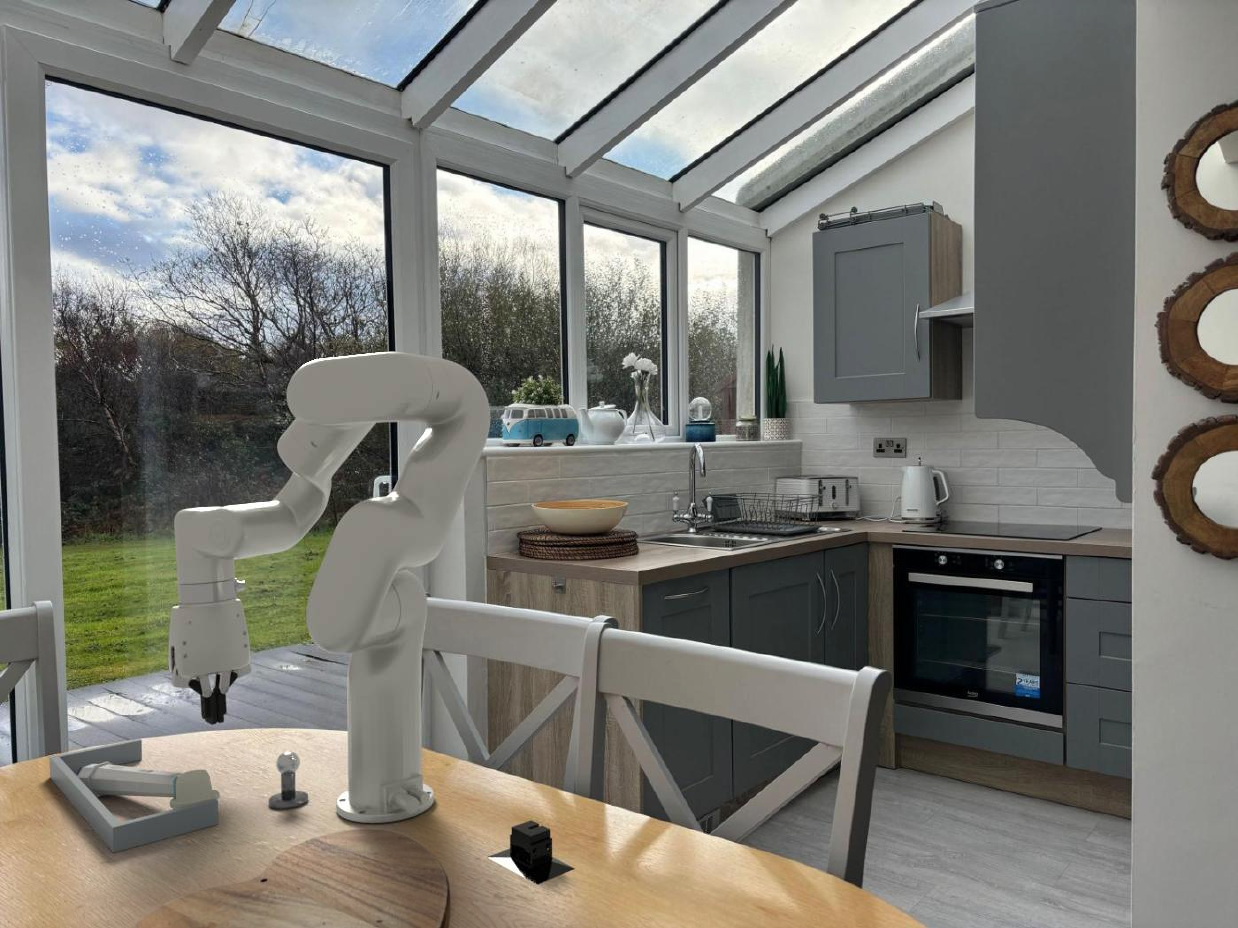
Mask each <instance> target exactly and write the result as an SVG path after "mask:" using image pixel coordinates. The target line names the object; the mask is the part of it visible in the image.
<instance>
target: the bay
mask: <svg viewBox="0 0 1238 928" xmlns="http://www.w3.org/2000/svg"><path fill="white" fill-rule="evenodd" d="M142 743H143V740H142V739H141V738H136V739H131V740H125V741H121V742H117V743H112V744H107V745H106V744H105V745H101V746H96V747H91V748H86V749H81V750H76V751H72V752H71V751H70V752H67V753H66V752H65V753H62V754H61V753H60V754H56V755H52V756H49V778H50V779H51V780H52V782H53V783H54V784H55V785H56V786H57V787H58V788H59V790H60V791H61V792H62V794H63V795H64V796H65V797H66V798H67V799H68V801H69V802H70V803H71V804H72V806H74V808H75V809H76V810H77V812H78V813H79V815H81V817H83V818H84V819H85V821H86V822H87V824H89V825H90V827H91V828H92V830H94V832H95V833H96V834H97V836H98V837H100V839H101V840H102V842H103V843H104V844H105V845H106V846H107V847H108V849H109V850H110V851H111V852H112V853H113V854H114V853H118V852H122V851H125V850H128V849H133V848H135V847H136V848H137V847H140V846H143V845H147V844H150V843H151V844H152V843H155V842H158V841H162V840H166V839H169V838H173V837H177V836H181V835H184V834H188V833H191V832H196V831H198V830H203V829H206V828H209V827H212V826H217V825H219V801H218V800H219V799H218V800H216V799H211V800H207V801H203V802H200V803H196V804H192V805H188V806H184V807H180V808H176V809H172V808H171V809H168V810H163V811H161V812H158V813H153V814H149V815H144V816H141V817H136V818H133V819H130V820H125V821H122V822H120V821H119V820H118V819H117V818H116V817H115V815H113V814H112V812H111V811H110V810H109V809H108V808H107V807H106V806H105V805H104V804H103V803H102V802H101V801H100V799H99V797H96V796H95V795H94V794H93V793H92V792H91V791H90V790H89V789H88V788H87V787H86V785H85V784H84V783H83V782H82V781H81V780H80V779H79V778H78V777H77V776H76V773H77V772H78V770H79V769H80V767H83V766H86V765H89V764H101V763H104V762H110V763H111V764H113V765H118V766H120V765H124V764H128V763H132V762H137V761H142V760H143V747H142V746H143V745H142Z"/></svg>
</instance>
